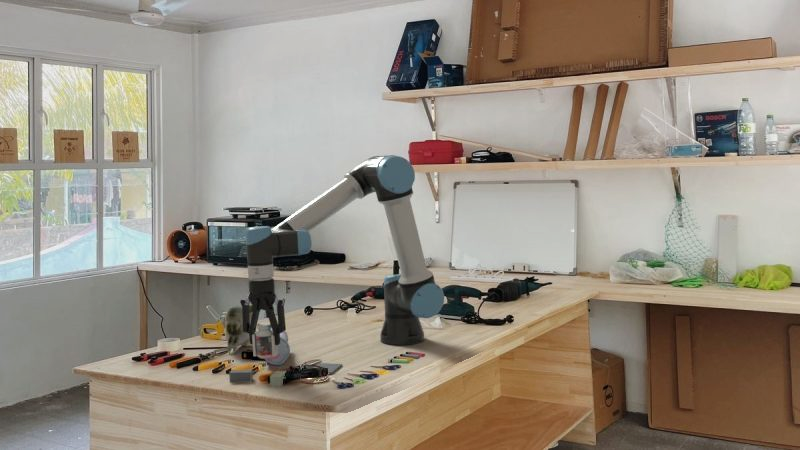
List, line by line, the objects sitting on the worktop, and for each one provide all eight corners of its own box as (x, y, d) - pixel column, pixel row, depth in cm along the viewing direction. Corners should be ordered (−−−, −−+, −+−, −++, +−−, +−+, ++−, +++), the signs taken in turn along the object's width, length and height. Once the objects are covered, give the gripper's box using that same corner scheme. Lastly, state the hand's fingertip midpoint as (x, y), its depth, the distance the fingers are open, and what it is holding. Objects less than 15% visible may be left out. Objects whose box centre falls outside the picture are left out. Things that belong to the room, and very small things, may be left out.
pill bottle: (253, 357, 242) (251, 325, 241) (263, 353, 247) (261, 321, 246) (269, 358, 240) (267, 326, 239) (278, 354, 245) (276, 322, 244)
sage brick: (277, 380, 234) (276, 370, 234) (287, 381, 233) (286, 370, 233) (270, 386, 228) (270, 376, 228) (280, 387, 227) (280, 376, 227)
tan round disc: (306, 375, 238) (306, 372, 238) (332, 376, 236) (332, 373, 236) (296, 382, 230) (296, 380, 230) (323, 384, 228) (323, 381, 228)
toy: (243, 355, 266) (264, 339, 286) (241, 309, 264) (261, 296, 284) (219, 355, 268) (241, 339, 287) (216, 309, 266) (238, 296, 286)
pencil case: (262, 352, 269) (260, 323, 268) (288, 350, 271) (287, 322, 270) (262, 367, 249) (261, 337, 248) (291, 365, 250) (290, 335, 249)
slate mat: (311, 364, 250) (311, 362, 250) (342, 365, 248) (342, 363, 248) (299, 373, 241) (299, 371, 241) (331, 374, 238) (331, 372, 238)
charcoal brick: (229, 382, 233) (229, 372, 233) (232, 379, 236) (232, 369, 236) (250, 382, 233) (249, 372, 233) (252, 379, 236) (252, 369, 236)
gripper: (227, 280, 240) (232, 357, 242) (285, 280, 235) (289, 359, 237) (238, 276, 247) (242, 351, 249) (295, 276, 242) (299, 352, 245)
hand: (265, 355), depth 243 cm, fingers closed on pill bottle, 5 cm apart
